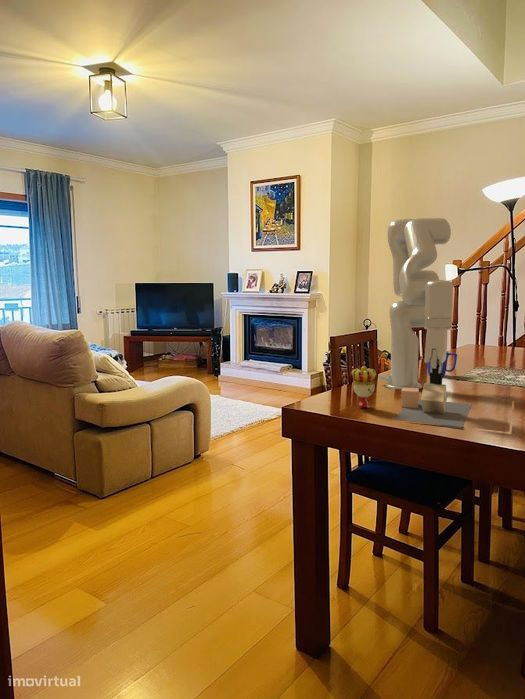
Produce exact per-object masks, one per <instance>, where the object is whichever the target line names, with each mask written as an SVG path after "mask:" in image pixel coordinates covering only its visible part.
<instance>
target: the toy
mask: <svg viewBox="0 0 525 699" xmlns="http://www.w3.org/2000/svg"><path fill="white" fill-rule="evenodd" d="M363 364H364V365H363V366H362V367H361V368H355V369H353V370H352V371H351V375H352V378H353V381H352V384H353V392H354V393H355V395H356V396H358V397H360V398H361V399H360V400H359V401H358V402H357V403H358V407H360V410H366V409H367V408H369V407H370V404H369V403H370V401H371V398H370V396H371V395H373V393H374V391H375V386H376V385H375V377H376V376H377V372H376V370H375V369H374V368H373V369H372V368H367V366H366V365H365V364H366V361H363ZM359 373H360V374H359Z"/></svg>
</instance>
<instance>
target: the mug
mask: <svg viewBox="0 0 525 699" xmlns="http://www.w3.org/2000/svg"><path fill="white" fill-rule="evenodd" d="M450 356H454V359H453V360H454V361H453V365H452V367H451V369H447V367H448V359H449V357H450ZM457 359H458V354H457V353H454V352H448V351H447V353H446V360H445V361H444V362H443V363H442V377H445V375H446V372H447V373H451V372H454V370H455V368H456V365H457ZM426 364H427V375H429V376H430V373H431V361H429V362H428V363H426Z"/></svg>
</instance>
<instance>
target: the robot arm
mask: <svg viewBox="0 0 525 699" xmlns="http://www.w3.org/2000/svg"><path fill="white" fill-rule="evenodd" d="M451 231H452V229H451V226H450V223H449V221H448V220H447V219H445V218H442V217H441V218H440V217H437V218H436V217H433V218H432V217H431V218H430V217H429V218H425V217H423V218H420V217H419V218H402V219H398V220H397V219H396V220H394V221H392V222H391V223H389V225H388V228H387V241H388V242H387V244H388V246H389V249H390V253H391V256H392V263H393V264H392V268H393V269H392V270H393V271H392V273H393V275H392V277H393V279H392V280H393V281H392V282H393V283H392V284H393V292H394V295H396V296H397V297H401V299H402V300H399V301H395V302H394V303H392V304H391V305H390V307H389V320H390V322H389V323H390V330H391V338H390V339H391V340H390V342H391V348H390V373H389V374H379V375H378V379H379V380H380V381H386V383H385V387H386V388H388V389H391V390H400V391H401V390H402V388H419V390H421V389H423V388H422V386H423V385H422V384H421V383H419V382H418V376H419V375H418V372H419V368H418V367H419V345H420V344H419V337H418V336H417V334H416V333H415V332H414V330H413V328H423V329H424V330H427V331H426V335H425V336H426V338H425V345H424V346H425V348H424V359H423V360H424V363H425V364H427V363H428V362H429V361H431V373H430V375H429V383H430V384H442V385H443V376H442V363H443V362H444V361H445V360H446V353H447V352H448V350H447V349H448V330H452V329H453V328H452V327H453V325H452V324H453V308H454V307H453V304H454V303H453V301H454V284H453V282H452V281H450V280H444V279H440V277H439V275H438V273H437V272H436V271H434V270H432V269H431V270H428V269H426V270H425V268H428V267H430V266H432V265H433V264H434V263H435V262H436V260H437V259H438V251H437V248H436V245H445V244H447V243H448V242H449V241H450V239H451V235H452V232H451ZM423 269H424V270H423Z"/></svg>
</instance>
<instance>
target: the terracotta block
mask: <svg viewBox="0 0 525 699" xmlns="http://www.w3.org/2000/svg"><path fill="white" fill-rule="evenodd" d="M419 391H420V389H419V388H402V390H400V393H401V394H400V407H401V408H404V407H409V408H418V399H419V394H420V392H419Z"/></svg>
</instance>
